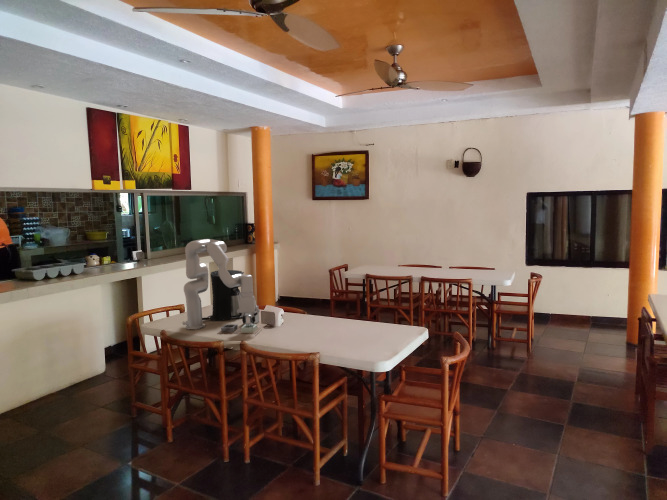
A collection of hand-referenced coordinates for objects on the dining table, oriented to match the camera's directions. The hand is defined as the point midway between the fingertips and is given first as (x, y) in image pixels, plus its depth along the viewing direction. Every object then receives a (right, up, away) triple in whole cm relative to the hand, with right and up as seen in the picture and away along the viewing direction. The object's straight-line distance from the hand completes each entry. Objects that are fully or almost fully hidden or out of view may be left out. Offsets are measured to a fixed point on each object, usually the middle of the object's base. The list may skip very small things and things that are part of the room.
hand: (248, 322), depth 296 cm
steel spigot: (0, -5, +1) cm, 5 cm away
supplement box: (-2, -5, +21) cm, 22 cm away
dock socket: (0, -5, +1) cm, 5 cm away
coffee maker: (-27, -3, +45) cm, 53 cm away
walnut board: (-6, -7, +2) cm, 10 cm away
